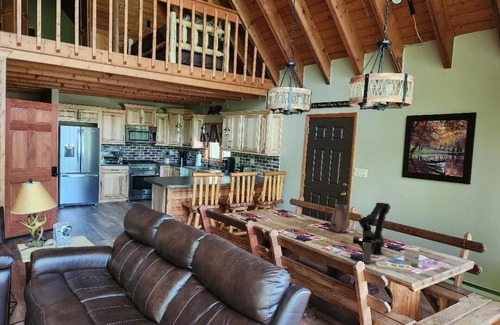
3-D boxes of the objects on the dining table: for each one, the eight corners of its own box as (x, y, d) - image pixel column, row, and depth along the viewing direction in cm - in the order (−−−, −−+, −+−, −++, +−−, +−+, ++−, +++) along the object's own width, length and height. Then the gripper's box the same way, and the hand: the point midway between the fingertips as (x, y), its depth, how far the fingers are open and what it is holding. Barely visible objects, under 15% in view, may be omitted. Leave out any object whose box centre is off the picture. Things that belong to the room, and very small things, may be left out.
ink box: (418, 266, 233) (420, 249, 232) (416, 268, 229) (417, 250, 228) (405, 262, 238) (407, 246, 238) (403, 264, 235) (404, 247, 234)
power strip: (376, 269, 221) (377, 264, 220) (375, 265, 229) (375, 259, 229) (411, 274, 216) (411, 269, 215) (408, 269, 224) (409, 264, 224)
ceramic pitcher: (341, 228, 330) (343, 203, 328) (354, 234, 310) (356, 207, 308) (326, 229, 324) (327, 203, 323) (338, 235, 304) (340, 207, 303)
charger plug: (363, 262, 228) (364, 243, 227) (362, 259, 232) (364, 241, 231) (370, 263, 227) (371, 244, 226) (369, 260, 231) (370, 242, 230)
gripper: (354, 224, 234) (353, 244, 224) (382, 228, 230) (383, 248, 219) (352, 233, 242) (352, 252, 232) (380, 236, 238) (381, 256, 228)
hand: (367, 252), depth 228 cm, fingers closed on charger plug, 4 cm apart
